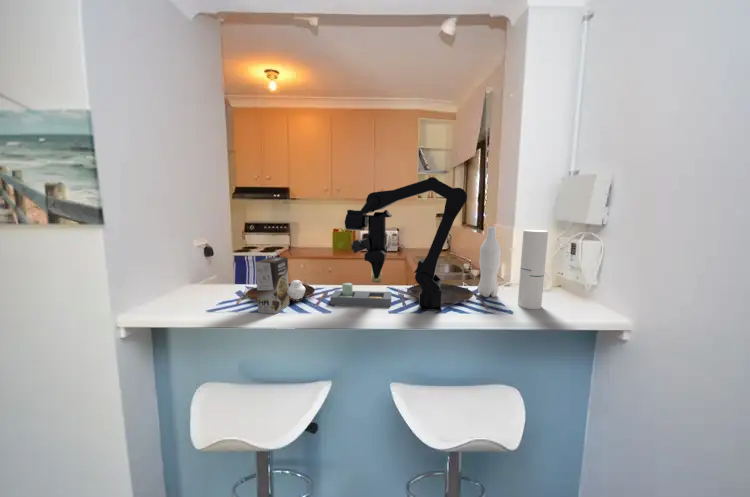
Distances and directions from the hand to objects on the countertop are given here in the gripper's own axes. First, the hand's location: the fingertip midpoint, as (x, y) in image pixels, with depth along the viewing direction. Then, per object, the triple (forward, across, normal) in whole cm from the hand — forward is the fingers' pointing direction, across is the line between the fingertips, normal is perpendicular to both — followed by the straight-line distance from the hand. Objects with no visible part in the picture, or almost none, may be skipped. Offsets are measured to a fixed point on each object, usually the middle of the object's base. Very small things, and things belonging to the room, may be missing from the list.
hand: (376, 277), depth 108 cm
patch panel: (+9, 0, -5) cm, 10 cm away
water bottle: (+9, -12, +40) cm, 43 cm away
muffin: (+9, 0, -28) cm, 29 cm away
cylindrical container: (+9, -2, +51) cm, 52 cm away
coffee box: (+9, +10, -32) cm, 35 cm away
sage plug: (+9, 0, -10) cm, 13 cm away
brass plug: (+2, 0, 0) cm, 2 cm away
